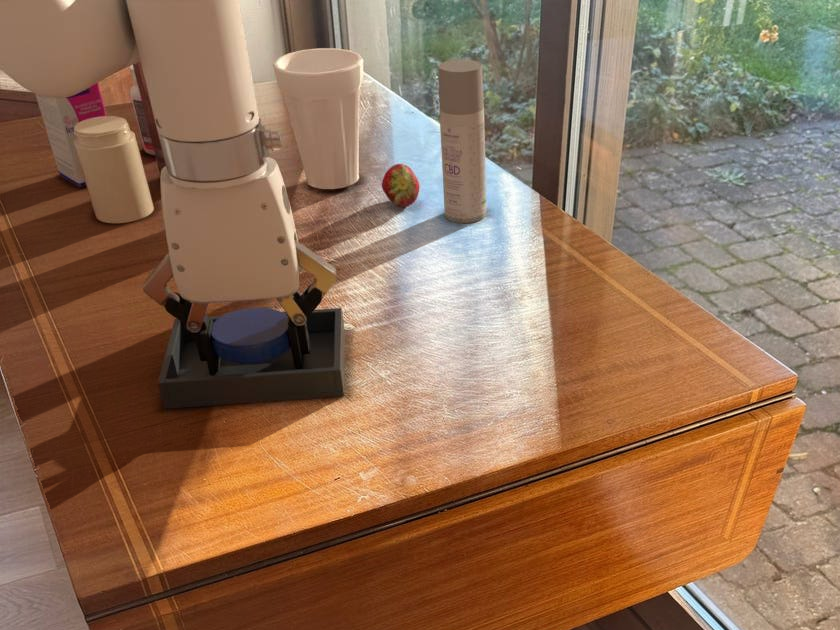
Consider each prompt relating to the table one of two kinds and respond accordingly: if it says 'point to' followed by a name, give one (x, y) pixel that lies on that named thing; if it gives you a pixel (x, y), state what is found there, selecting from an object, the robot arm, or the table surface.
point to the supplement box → (69, 127)
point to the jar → (112, 169)
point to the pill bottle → (140, 115)
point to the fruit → (401, 185)
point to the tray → (256, 369)
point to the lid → (251, 335)
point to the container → (462, 140)
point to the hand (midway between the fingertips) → (257, 362)
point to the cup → (324, 112)
